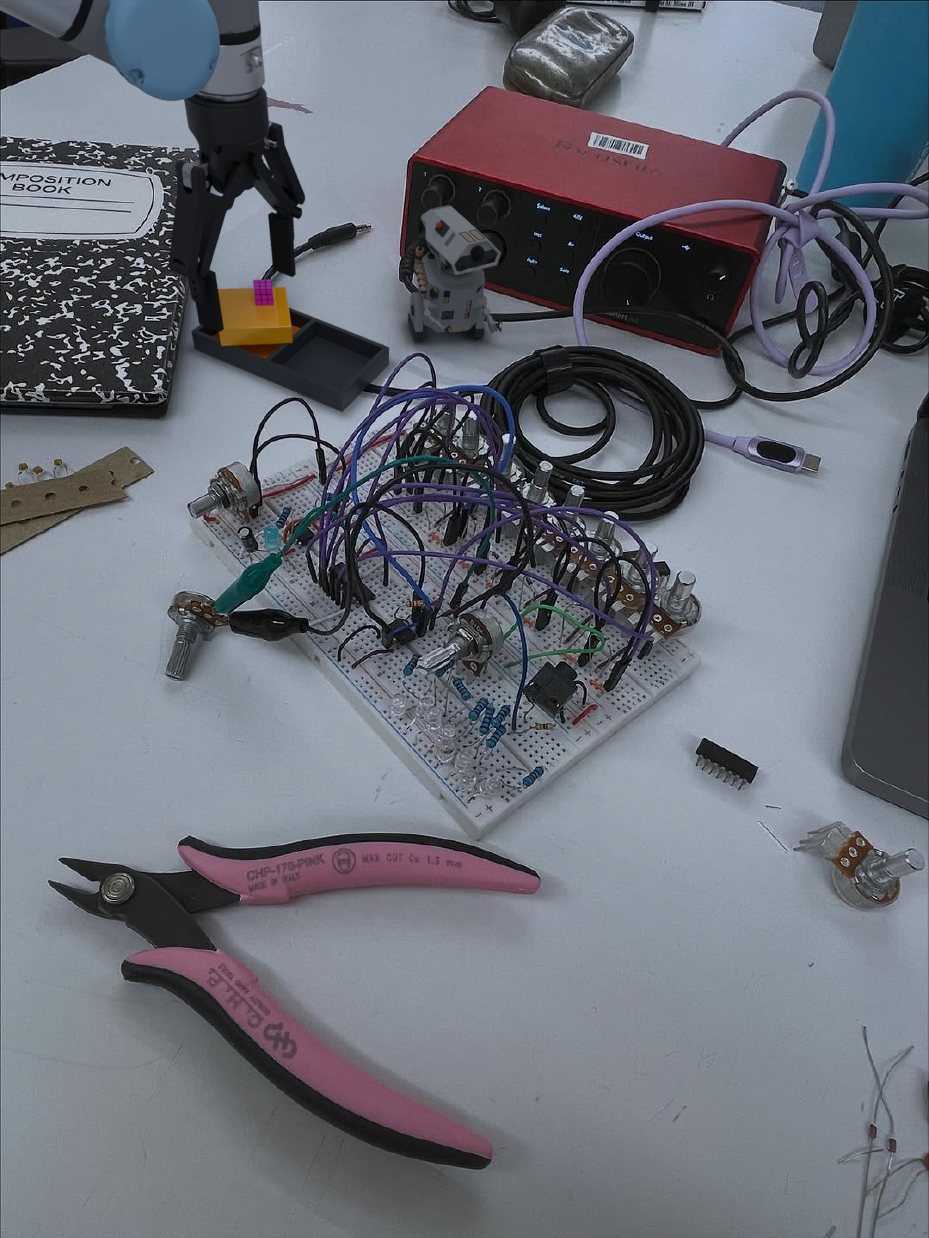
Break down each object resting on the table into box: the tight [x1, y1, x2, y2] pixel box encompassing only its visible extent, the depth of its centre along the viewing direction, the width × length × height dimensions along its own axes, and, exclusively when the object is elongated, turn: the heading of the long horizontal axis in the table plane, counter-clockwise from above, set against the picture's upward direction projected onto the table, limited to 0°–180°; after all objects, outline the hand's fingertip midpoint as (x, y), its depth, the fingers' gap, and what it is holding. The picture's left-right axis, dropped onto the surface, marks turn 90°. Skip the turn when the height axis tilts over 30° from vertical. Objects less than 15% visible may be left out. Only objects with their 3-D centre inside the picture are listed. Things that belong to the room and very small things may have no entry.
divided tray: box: [190, 307, 390, 412], centre depth 92 cm, size 20×10×2 cm, turn 63°
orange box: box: [218, 278, 293, 346], centre depth 91 cm, size 8×8×4 cm
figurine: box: [407, 204, 503, 342], centre depth 92 cm, size 9×12×15 cm
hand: (249, 298), depth 89 cm, fingers open, 13 cm apart
